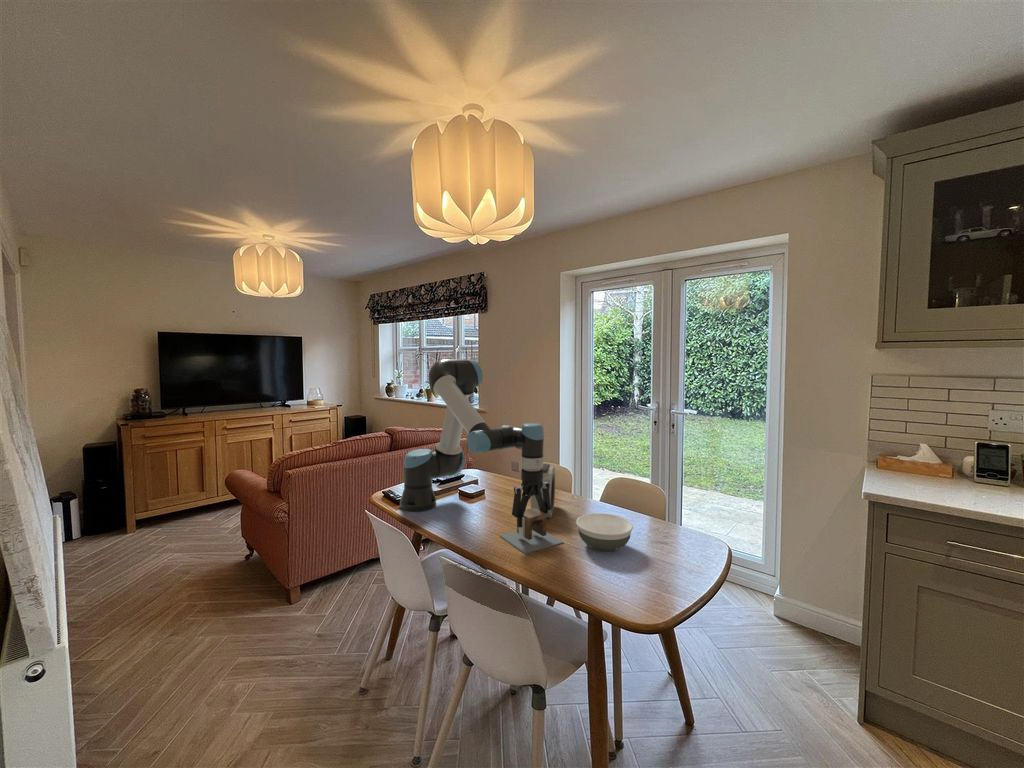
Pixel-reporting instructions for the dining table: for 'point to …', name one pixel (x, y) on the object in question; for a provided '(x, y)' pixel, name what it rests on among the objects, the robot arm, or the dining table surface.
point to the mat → (531, 541)
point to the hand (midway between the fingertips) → (531, 533)
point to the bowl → (604, 531)
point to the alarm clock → (549, 478)
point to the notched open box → (534, 522)
